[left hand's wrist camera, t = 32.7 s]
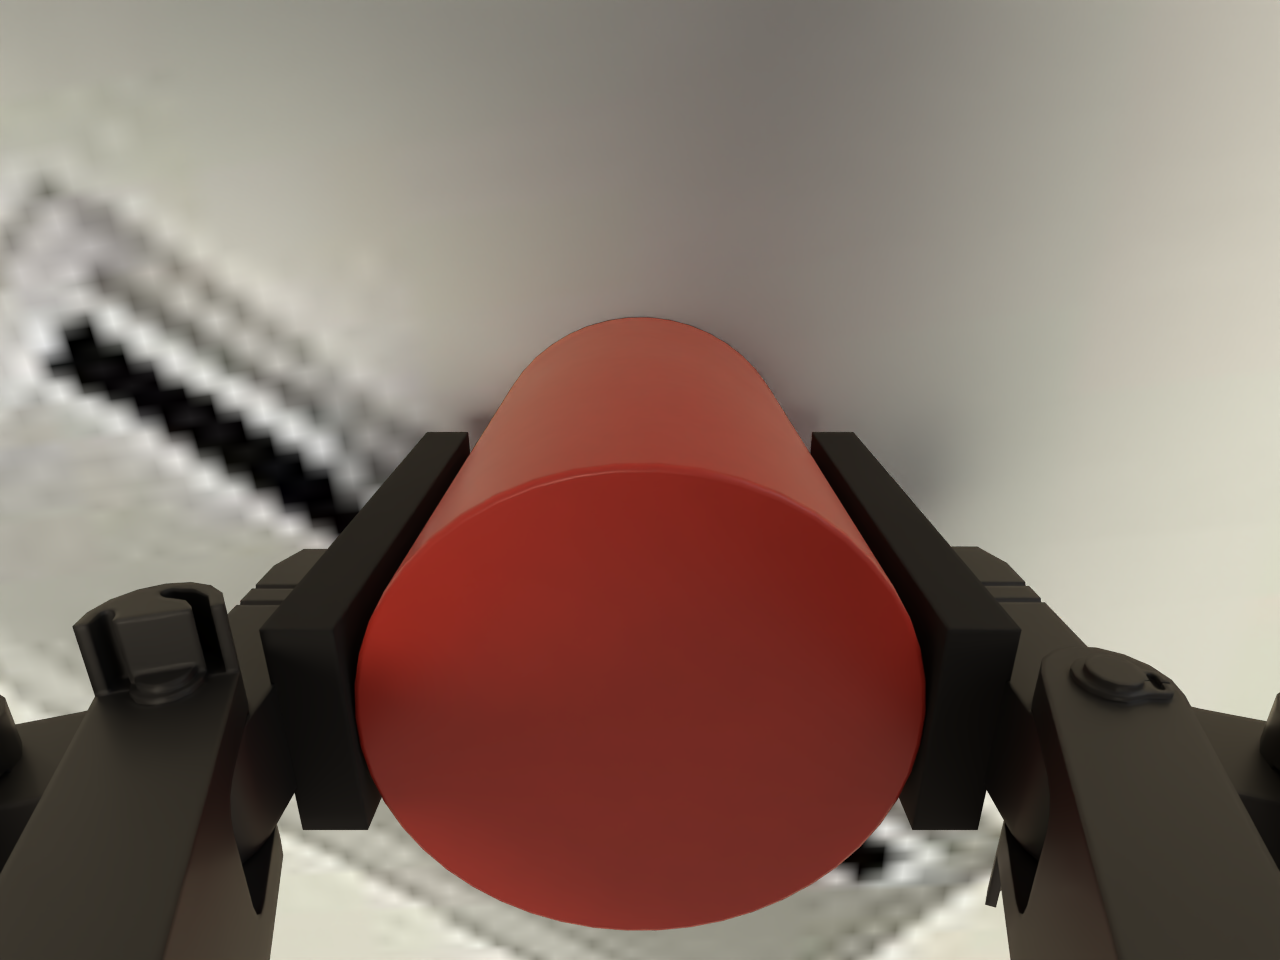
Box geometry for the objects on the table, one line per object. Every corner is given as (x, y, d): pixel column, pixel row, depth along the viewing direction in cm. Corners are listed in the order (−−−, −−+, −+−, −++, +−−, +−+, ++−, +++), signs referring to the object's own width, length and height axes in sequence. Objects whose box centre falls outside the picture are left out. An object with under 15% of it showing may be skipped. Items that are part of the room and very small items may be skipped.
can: (821, 348, 15) (1017, 525, 7) (747, 613, 17) (834, 963, 10) (512, 289, 15) (368, 410, 7) (477, 568, 17) (339, 896, 9)
